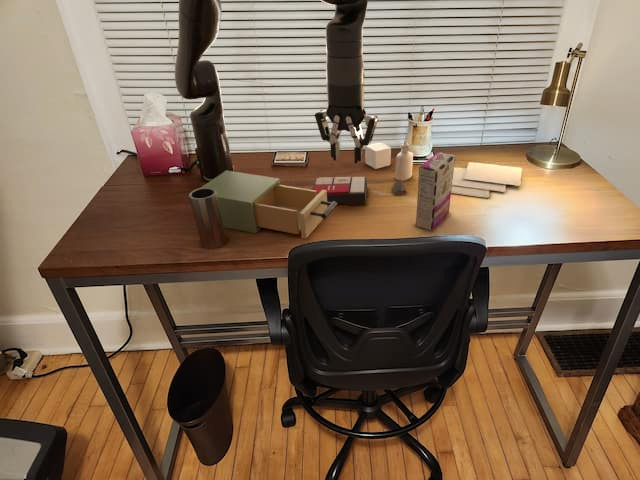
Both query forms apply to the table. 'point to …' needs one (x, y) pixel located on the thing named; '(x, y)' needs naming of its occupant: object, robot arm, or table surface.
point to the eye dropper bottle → (404, 163)
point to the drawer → (292, 209)
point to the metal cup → (208, 217)
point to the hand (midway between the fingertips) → (347, 160)
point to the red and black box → (343, 189)
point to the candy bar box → (434, 190)
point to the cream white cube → (377, 155)
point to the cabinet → (240, 197)
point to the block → (399, 188)
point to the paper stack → (484, 179)
